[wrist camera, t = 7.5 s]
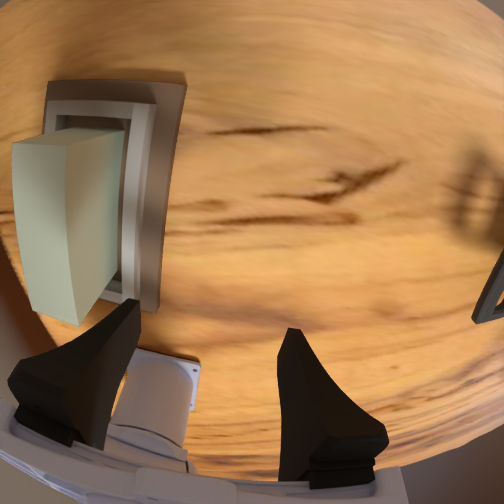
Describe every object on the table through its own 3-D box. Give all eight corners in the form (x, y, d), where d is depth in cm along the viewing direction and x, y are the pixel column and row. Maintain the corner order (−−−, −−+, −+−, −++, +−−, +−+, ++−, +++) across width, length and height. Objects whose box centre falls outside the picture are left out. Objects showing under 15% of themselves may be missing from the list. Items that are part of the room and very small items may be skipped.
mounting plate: (159, 306, 25) (151, 325, 23) (56, 279, 24) (43, 293, 22) (187, 85, 17) (177, 82, 15) (55, 81, 16) (36, 81, 14)
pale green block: (117, 270, 22) (79, 326, 16) (76, 260, 22) (32, 310, 16) (124, 130, 17) (66, 146, 11) (77, 126, 17) (12, 143, 11)
